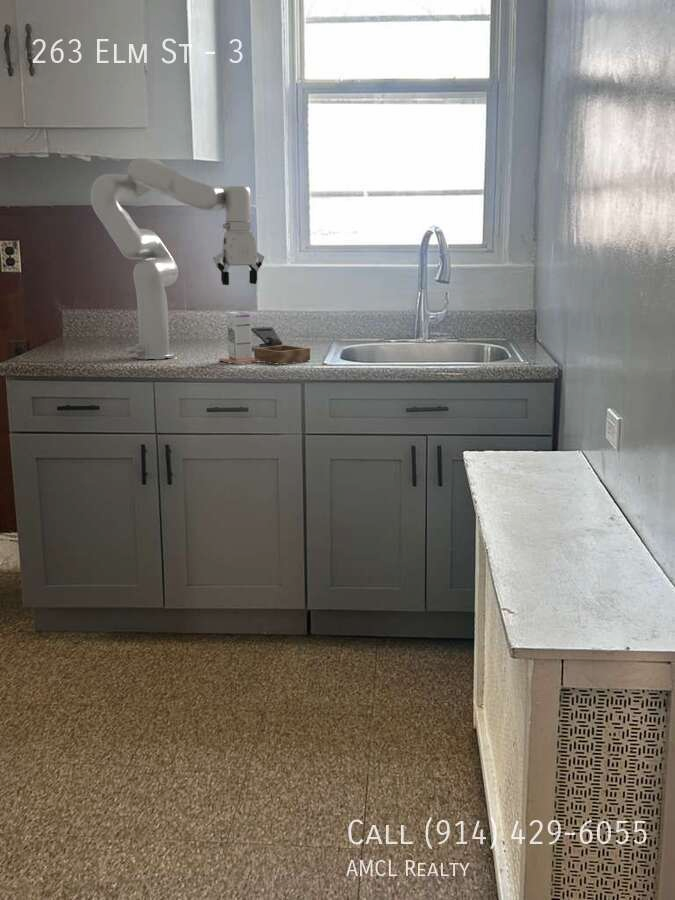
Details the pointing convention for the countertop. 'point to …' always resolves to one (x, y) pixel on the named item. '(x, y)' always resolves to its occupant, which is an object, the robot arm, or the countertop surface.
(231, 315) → the syrup box
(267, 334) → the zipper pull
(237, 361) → the terracotta tile
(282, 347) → the walnut caddy
